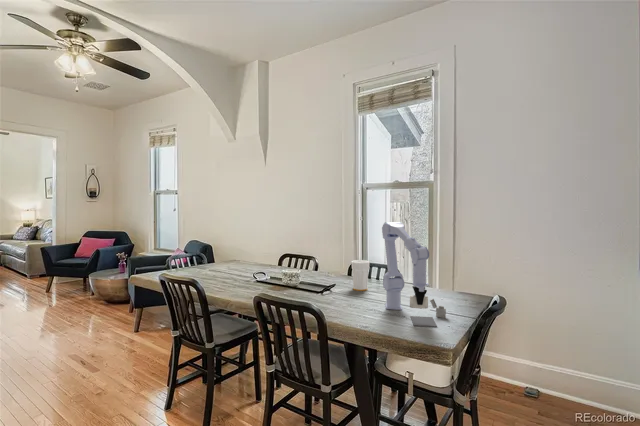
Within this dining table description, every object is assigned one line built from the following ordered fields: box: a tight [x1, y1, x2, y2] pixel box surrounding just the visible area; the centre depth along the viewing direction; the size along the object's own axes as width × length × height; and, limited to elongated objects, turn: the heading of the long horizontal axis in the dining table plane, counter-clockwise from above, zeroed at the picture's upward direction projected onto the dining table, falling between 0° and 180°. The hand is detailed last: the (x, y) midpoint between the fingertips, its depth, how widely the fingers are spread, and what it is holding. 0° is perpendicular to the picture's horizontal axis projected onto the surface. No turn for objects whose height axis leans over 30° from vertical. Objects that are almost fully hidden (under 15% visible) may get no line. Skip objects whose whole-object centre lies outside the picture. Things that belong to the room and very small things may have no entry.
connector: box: [409, 294, 429, 309], centre depth 158 cm, size 3×8×7 cm, turn 81°
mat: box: [410, 315, 438, 328], centre depth 158 cm, size 12×10×1 cm
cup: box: [350, 259, 371, 292], centre depth 216 cm, size 11×11×17 cm
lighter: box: [429, 298, 447, 319], centre depth 165 cm, size 7×2×8 cm, turn 56°
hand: (419, 303), depth 158 cm, fingers closed on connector, 3 cm apart
